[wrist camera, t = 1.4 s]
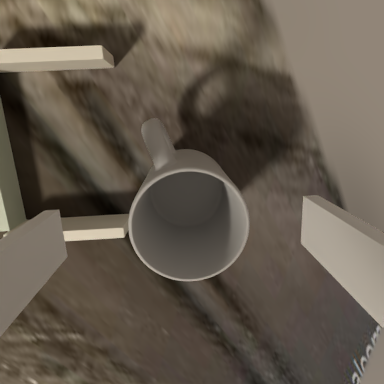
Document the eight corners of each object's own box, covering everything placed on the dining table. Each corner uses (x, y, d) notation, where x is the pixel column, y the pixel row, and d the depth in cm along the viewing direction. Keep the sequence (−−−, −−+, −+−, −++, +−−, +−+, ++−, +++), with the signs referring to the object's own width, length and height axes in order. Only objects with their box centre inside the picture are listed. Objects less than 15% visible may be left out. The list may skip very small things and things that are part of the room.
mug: (237, 208, 30) (268, 256, 20) (165, 238, 31) (158, 300, 20) (194, 102, 27) (204, 91, 17) (116, 136, 28) (77, 147, 17)
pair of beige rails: (-49, 233, 30) (-83, 250, 26) (-97, 64, 25) (-146, 55, 22) (131, 222, 30) (124, 237, 26) (113, 56, 26) (101, 45, 22)
